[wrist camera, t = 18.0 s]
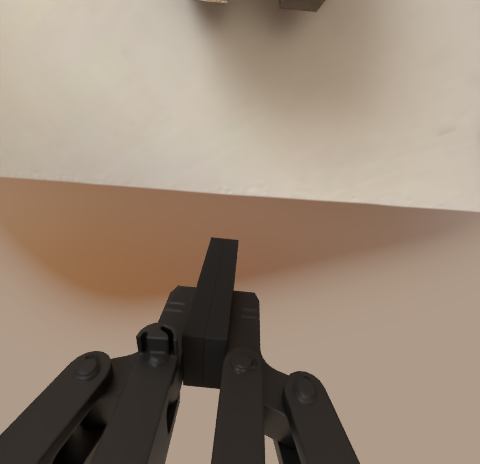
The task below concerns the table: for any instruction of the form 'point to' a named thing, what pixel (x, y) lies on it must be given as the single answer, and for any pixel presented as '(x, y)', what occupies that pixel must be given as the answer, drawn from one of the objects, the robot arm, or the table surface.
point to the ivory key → (221, 0)
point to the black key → (301, 4)
